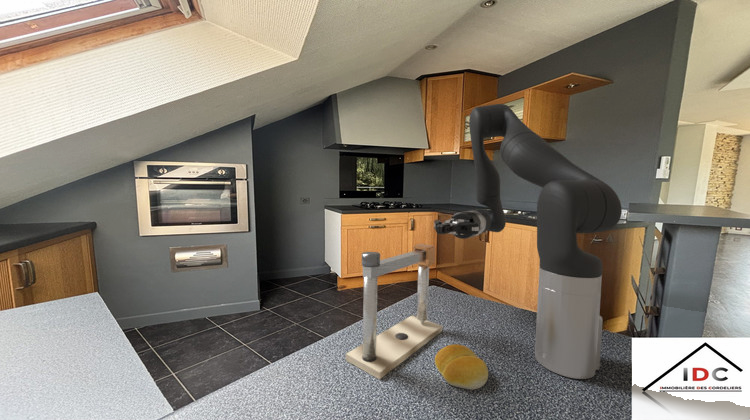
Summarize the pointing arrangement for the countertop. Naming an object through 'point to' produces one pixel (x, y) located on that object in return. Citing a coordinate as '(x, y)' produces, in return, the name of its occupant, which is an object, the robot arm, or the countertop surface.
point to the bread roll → (461, 367)
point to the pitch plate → (395, 346)
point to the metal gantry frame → (370, 273)
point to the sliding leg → (424, 280)
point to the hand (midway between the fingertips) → (439, 229)
